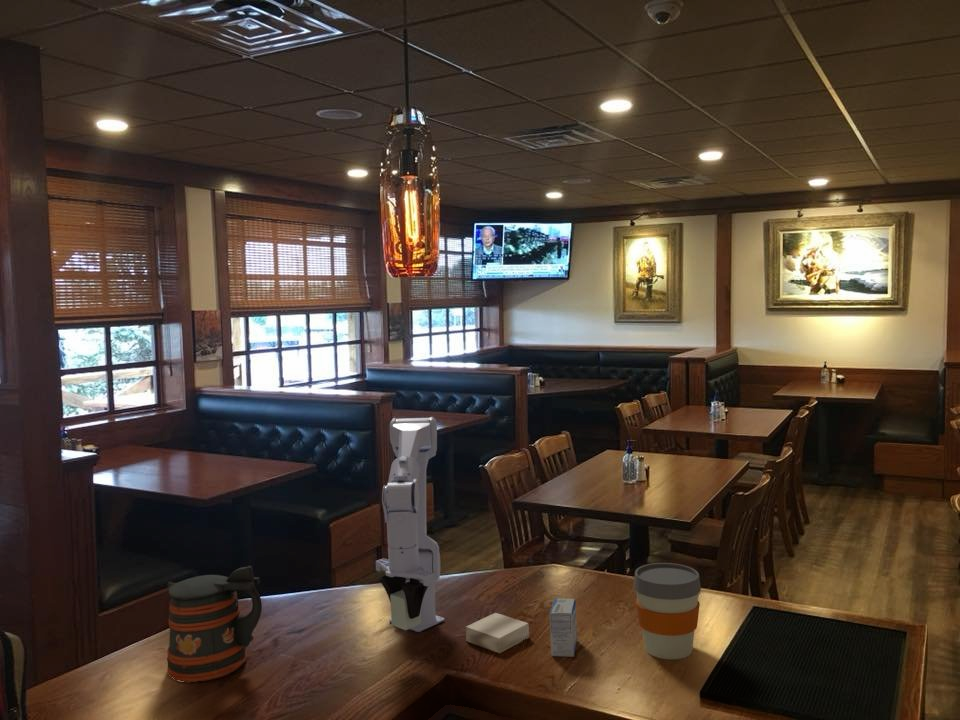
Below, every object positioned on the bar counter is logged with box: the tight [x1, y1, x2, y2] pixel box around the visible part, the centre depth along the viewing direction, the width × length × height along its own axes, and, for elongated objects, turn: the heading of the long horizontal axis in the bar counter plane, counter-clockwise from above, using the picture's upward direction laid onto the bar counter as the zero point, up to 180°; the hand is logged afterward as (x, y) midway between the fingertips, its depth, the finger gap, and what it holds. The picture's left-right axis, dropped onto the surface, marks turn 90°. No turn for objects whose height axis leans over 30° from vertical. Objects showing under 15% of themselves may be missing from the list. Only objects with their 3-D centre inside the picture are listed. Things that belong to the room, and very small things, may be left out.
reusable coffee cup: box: [633, 562, 702, 660], centre depth 153 cm, size 12×13×15 cm
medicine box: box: [549, 597, 578, 658], centre depth 155 cm, size 8×4×9 cm, turn 168°
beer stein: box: [166, 565, 263, 683], centre depth 153 cm, size 19×15×20 cm
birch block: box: [465, 612, 530, 654], centre depth 161 cm, size 9×9×3 cm
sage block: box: [390, 590, 421, 631], centre depth 152 cm, size 4×4×6 cm
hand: (406, 614), depth 152 cm, fingers closed on sage block, 4 cm apart
